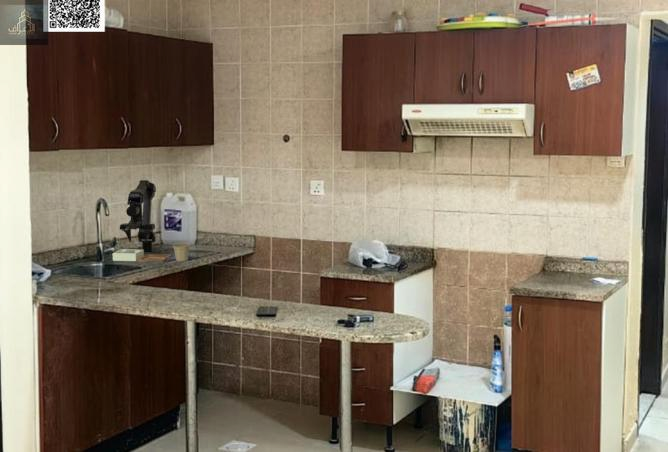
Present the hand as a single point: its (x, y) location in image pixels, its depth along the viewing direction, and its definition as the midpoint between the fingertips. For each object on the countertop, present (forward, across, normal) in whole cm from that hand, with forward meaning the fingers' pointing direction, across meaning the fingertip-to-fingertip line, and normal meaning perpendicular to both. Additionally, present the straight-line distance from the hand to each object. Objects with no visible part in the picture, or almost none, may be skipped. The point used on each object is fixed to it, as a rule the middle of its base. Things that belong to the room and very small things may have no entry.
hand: (138, 242), depth 544 cm
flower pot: (+9, +27, -6) cm, 29 cm away
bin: (+9, -4, -6) cm, 11 cm away
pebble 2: (+8, -4, -4) cm, 10 cm away
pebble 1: (+8, -3, -9) cm, 12 cm away
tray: (+9, +11, -5) cm, 15 cm away
